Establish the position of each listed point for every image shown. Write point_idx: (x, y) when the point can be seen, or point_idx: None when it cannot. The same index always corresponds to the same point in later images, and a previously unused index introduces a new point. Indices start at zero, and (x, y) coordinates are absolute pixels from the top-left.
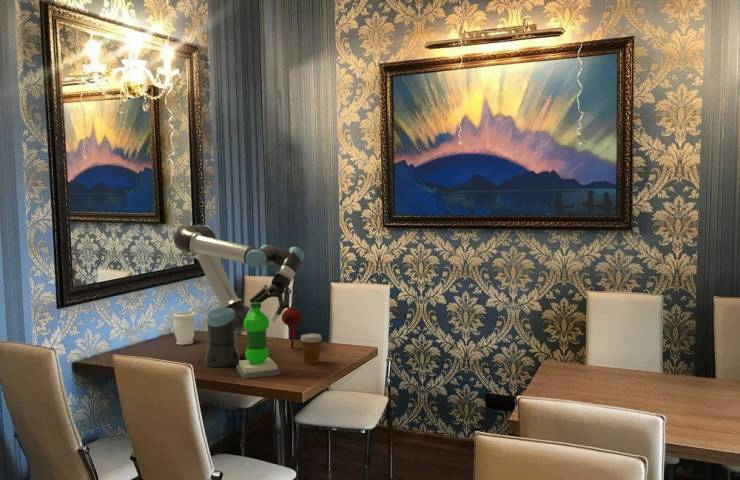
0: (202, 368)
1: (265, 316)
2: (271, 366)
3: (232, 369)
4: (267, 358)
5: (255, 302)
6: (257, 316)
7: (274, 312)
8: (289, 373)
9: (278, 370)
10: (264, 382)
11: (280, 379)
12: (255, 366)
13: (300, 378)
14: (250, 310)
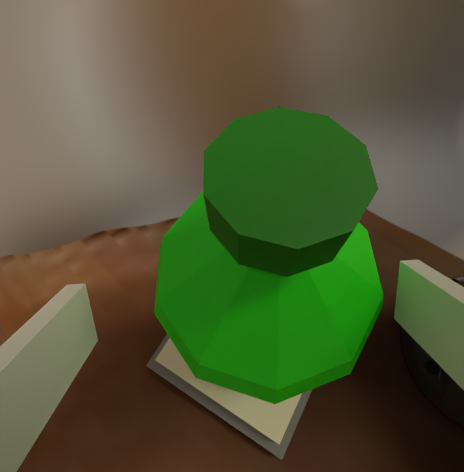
0: (443, 256)
1: (184, 310)
2: (169, 340)
3: None
4: (267, 418)
5: (338, 196)
6: (200, 212)
7: (33, 329)
8: (126, 405)
9: (149, 361)
10: (139, 267)
11: (111, 322)
12: None
13: None
14: (444, 291)
